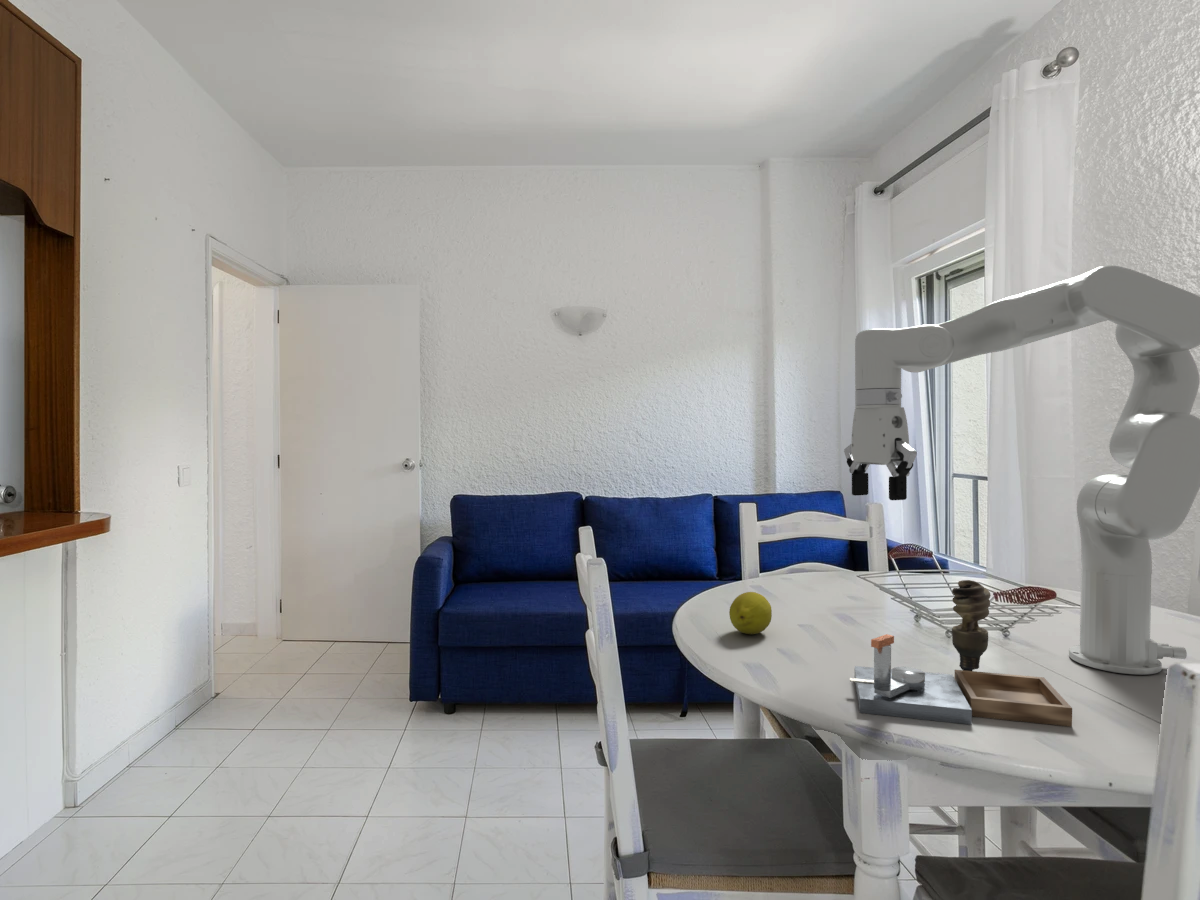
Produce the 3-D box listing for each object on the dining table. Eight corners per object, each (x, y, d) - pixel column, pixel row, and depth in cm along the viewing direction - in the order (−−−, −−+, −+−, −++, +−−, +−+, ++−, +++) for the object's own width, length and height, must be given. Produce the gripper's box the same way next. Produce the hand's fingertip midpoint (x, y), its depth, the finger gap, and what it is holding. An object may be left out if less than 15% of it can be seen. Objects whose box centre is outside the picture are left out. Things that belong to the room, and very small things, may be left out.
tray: (1043, 694, 104) (1043, 677, 104) (1071, 726, 93) (1072, 708, 93) (954, 685, 108) (954, 669, 108) (971, 716, 97) (971, 698, 96)
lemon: (744, 624, 142) (744, 585, 142) (780, 631, 137) (780, 590, 137) (717, 637, 134) (717, 595, 134) (755, 644, 129) (755, 601, 129)
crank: (901, 676, 106) (902, 622, 105) (930, 684, 102) (931, 629, 102) (859, 694, 99) (860, 636, 98) (889, 703, 95) (889, 644, 95)
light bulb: (955, 664, 118) (956, 575, 117) (992, 671, 114) (994, 579, 114) (947, 673, 113) (948, 581, 113) (985, 681, 110) (986, 585, 109)
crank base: (952, 687, 107) (952, 673, 107) (971, 724, 94) (971, 708, 94) (847, 677, 112) (847, 664, 112) (852, 711, 98) (852, 696, 98)
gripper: (932, 397, 117) (932, 501, 117) (863, 402, 133) (863, 492, 133) (894, 397, 114) (895, 503, 115) (829, 402, 131) (829, 494, 131)
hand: (878, 497), depth 124 cm, fingers open, 9 cm apart
